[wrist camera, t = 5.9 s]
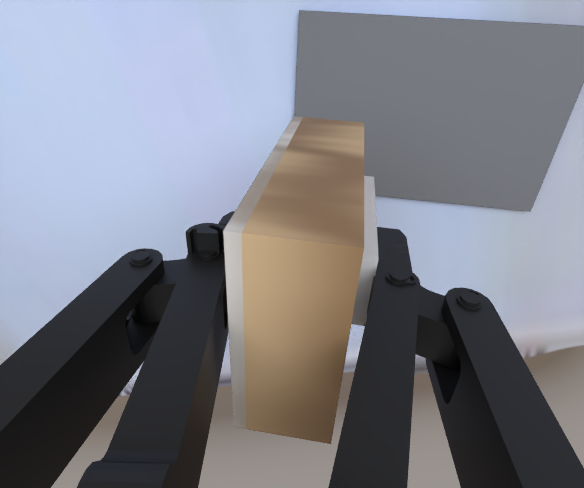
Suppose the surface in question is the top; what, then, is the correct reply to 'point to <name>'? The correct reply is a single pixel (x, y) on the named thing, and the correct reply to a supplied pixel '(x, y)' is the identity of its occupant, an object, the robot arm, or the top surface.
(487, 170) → the mat
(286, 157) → the wooden block
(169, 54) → the top surface
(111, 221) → the top surface
